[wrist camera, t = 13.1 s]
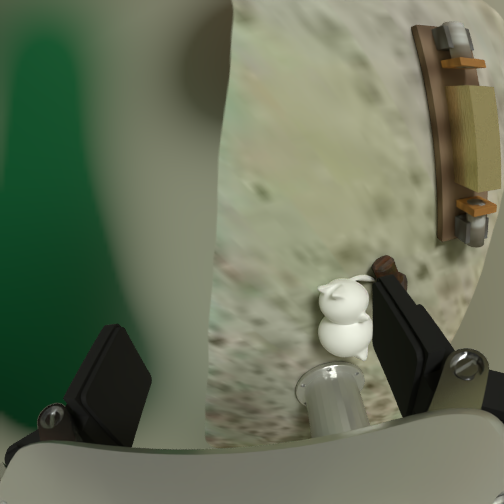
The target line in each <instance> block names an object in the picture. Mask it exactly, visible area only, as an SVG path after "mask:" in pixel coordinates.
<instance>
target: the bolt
mask: <svg viewBox="0 0 504 504" xmlns="http://www.w3.org/2000/svg"><path fill="white" fill-rule="evenodd" d="M372 268H373V271H374V273H375V275H376V278H378V277H382V276H386V275H391V274H393V275H394V276H395V277H396V278H397V280H398V281H399V282H400V284H401V285H402V286H403V288H404V289H405V290H406V291H407V278H406V275H404V274H403V273H400V272H398V270H397V267H396V265H395V262H394V259H393V258H392V257H390V256H388V255H385V256H382V257H380V258H378V259H377V260H376V261H375V262H374V264H373V265H372Z"/></svg>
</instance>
